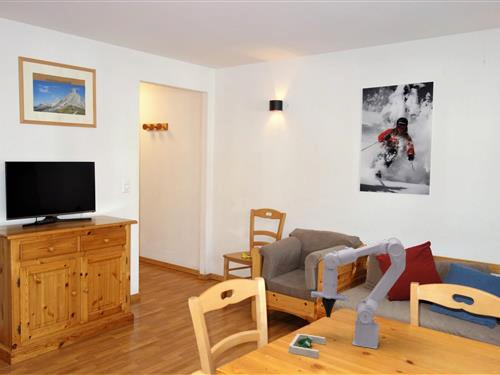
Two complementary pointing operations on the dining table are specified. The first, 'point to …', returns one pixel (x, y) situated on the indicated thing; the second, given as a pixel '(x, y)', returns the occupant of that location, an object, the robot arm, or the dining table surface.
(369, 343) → the robot arm
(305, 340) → the gaming controller
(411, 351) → the dining table surface
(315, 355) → the controller dock
